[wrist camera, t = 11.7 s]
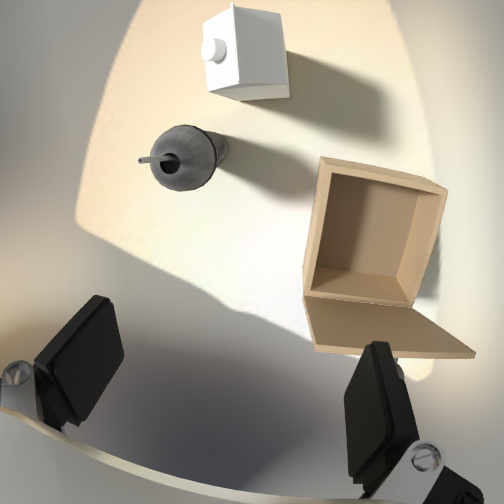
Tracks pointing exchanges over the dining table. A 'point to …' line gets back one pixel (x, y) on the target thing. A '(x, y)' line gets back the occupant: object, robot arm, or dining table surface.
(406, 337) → the flap
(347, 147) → the dining table surface
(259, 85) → the milk carton
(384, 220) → the light brown open box
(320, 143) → the dining table surface
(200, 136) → the beverage cup
